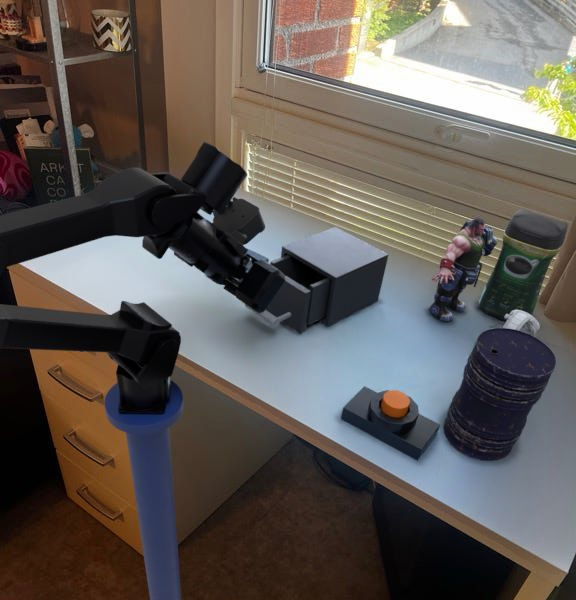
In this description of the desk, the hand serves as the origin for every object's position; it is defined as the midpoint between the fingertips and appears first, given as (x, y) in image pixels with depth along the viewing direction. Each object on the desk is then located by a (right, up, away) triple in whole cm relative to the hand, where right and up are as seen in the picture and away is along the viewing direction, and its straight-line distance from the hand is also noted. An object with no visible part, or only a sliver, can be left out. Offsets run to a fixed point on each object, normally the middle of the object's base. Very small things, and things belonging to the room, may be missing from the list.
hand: (255, 287), depth 85 cm
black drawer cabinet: (+12, +1, +16) cm, 20 cm away
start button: (+19, -18, -10) cm, 28 cm away
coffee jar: (+45, -1, +18) cm, 49 cm away
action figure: (+34, -2, +16) cm, 38 cm away
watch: (+39, -13, +4) cm, 41 cm away
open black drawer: (+6, -2, +10) cm, 12 cm away
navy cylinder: (+32, -22, -7) cm, 39 cm away
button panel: (+19, -21, -8) cm, 29 cm away
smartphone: (-7, +10, +24) cm, 27 cm away
